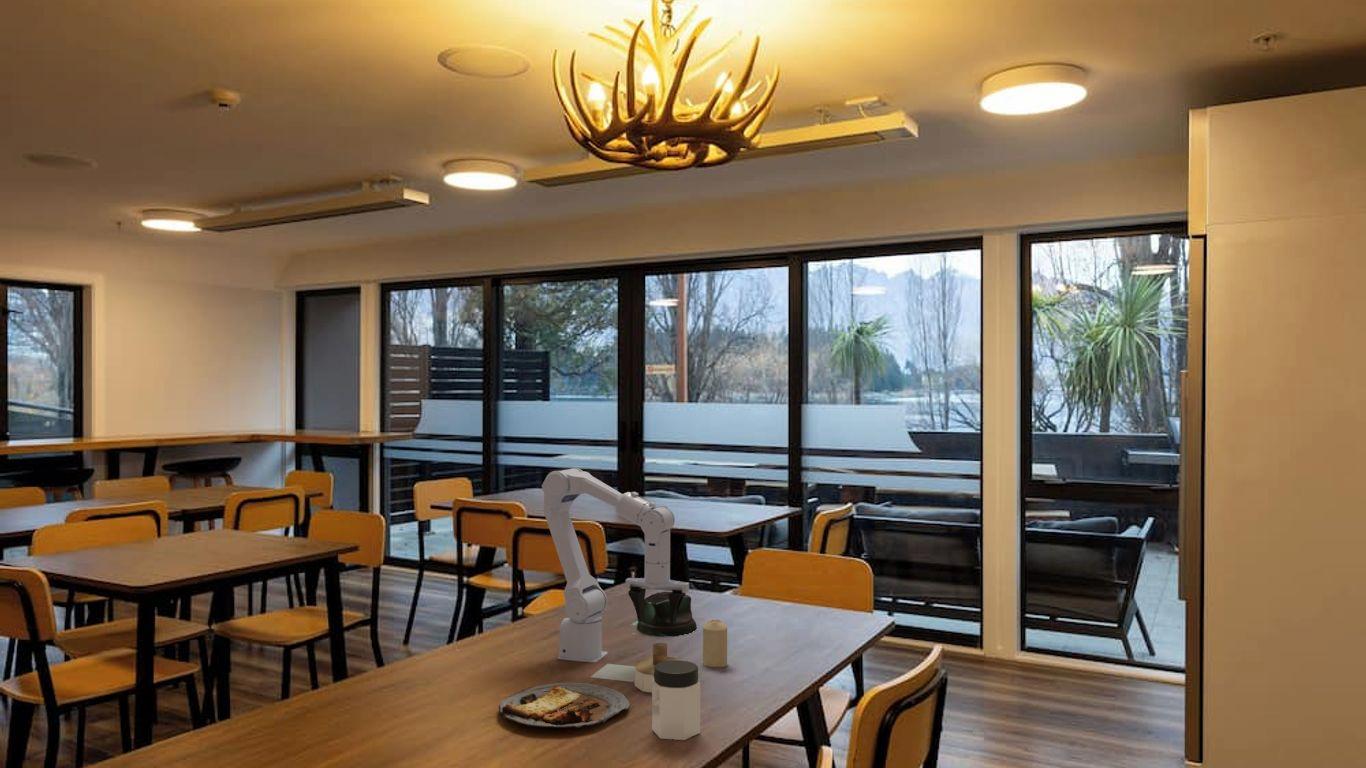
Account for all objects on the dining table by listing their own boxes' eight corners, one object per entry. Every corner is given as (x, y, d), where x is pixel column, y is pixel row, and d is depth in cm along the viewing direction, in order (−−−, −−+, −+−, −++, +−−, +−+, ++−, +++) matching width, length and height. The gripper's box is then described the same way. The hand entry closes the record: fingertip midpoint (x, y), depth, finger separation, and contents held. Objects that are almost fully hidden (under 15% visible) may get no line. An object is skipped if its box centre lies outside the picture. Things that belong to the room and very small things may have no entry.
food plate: (569, 746, 163) (569, 726, 164) (473, 721, 176) (473, 702, 176) (648, 707, 185) (649, 690, 185) (558, 688, 197) (558, 671, 197)
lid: (628, 673, 192) (629, 649, 192) (643, 658, 202) (643, 636, 202) (677, 677, 189) (677, 653, 189) (689, 662, 199) (689, 639, 199)
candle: (725, 669, 207) (725, 624, 207) (700, 667, 208) (701, 623, 208) (728, 662, 213) (728, 618, 213) (705, 660, 214) (705, 617, 214)
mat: (590, 678, 200) (590, 677, 200) (607, 665, 210) (607, 663, 210) (633, 683, 197) (633, 681, 197) (649, 669, 207) (649, 667, 207)
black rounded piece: (667, 644, 228) (667, 606, 228) (612, 629, 241) (612, 594, 241) (719, 629, 242) (719, 593, 242) (665, 615, 256) (665, 582, 256)
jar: (674, 719, 176) (675, 656, 176) (708, 730, 171) (708, 665, 171) (642, 733, 169) (643, 667, 169) (676, 744, 164) (677, 677, 164)
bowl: (629, 691, 192) (629, 672, 192) (645, 676, 202) (645, 658, 202) (675, 696, 189) (675, 677, 189) (689, 681, 199) (689, 662, 199)
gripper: (620, 562, 206) (620, 623, 206) (682, 567, 202) (681, 629, 202) (632, 556, 213) (631, 615, 213) (692, 561, 209) (691, 621, 209)
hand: (656, 622), depth 208 cm, fingers open, 7 cm apart
